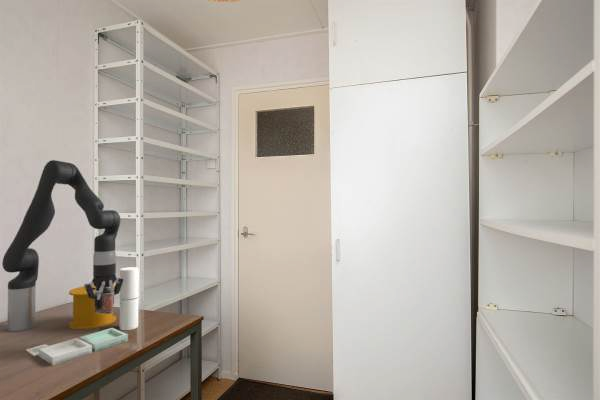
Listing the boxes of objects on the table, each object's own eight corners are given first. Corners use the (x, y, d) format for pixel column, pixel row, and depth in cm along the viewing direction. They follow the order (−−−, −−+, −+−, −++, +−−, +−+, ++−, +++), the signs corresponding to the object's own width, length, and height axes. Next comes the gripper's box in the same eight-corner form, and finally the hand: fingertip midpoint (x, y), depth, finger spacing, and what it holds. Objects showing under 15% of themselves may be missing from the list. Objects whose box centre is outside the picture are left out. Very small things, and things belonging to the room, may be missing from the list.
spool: (90, 314, 165) (90, 283, 165) (124, 316, 162) (125, 284, 162) (58, 328, 147) (58, 292, 147) (96, 330, 144) (96, 294, 144)
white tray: (38, 355, 120) (38, 348, 120) (76, 344, 130) (76, 337, 130) (52, 365, 113) (52, 357, 113) (91, 352, 123) (91, 345, 123)
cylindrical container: (130, 330, 144) (131, 270, 144) (115, 329, 145) (116, 269, 146) (141, 324, 151) (142, 267, 151) (127, 323, 152) (127, 266, 153)
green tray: (79, 343, 131) (79, 337, 131) (112, 333, 141) (112, 327, 141) (94, 351, 124) (94, 344, 124) (127, 340, 134) (127, 334, 134)
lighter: (115, 311, 133) (116, 285, 133) (108, 314, 129) (108, 287, 129) (100, 309, 135) (100, 283, 135) (92, 312, 132) (92, 285, 132)
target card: (25, 350, 125) (25, 349, 125) (45, 344, 129) (45, 343, 129) (34, 356, 120) (34, 355, 120) (54, 350, 125) (54, 349, 125)
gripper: (118, 259, 140) (118, 301, 140) (80, 264, 129) (79, 310, 129) (128, 261, 136) (127, 304, 136) (89, 266, 125) (88, 314, 124)
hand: (104, 307), depth 132 cm, fingers closed on lighter, 3 cm apart
